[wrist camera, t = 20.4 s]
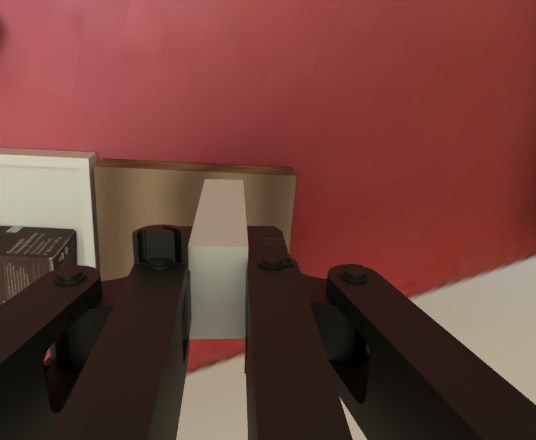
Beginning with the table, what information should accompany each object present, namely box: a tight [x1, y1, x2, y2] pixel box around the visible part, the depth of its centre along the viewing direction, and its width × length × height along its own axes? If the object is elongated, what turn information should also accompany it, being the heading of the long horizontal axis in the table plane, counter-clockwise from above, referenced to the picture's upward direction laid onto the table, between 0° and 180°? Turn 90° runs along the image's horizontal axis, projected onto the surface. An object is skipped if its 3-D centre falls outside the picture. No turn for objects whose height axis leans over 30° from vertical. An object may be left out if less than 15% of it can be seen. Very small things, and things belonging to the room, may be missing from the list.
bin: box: [0, 147, 101, 277], centre depth 37 cm, size 12×16×2 cm
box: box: [0, 226, 77, 305], centre depth 35 cm, size 6×6×7 cm
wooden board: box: [94, 159, 297, 281], centre depth 38 cm, size 16×14×3 cm
